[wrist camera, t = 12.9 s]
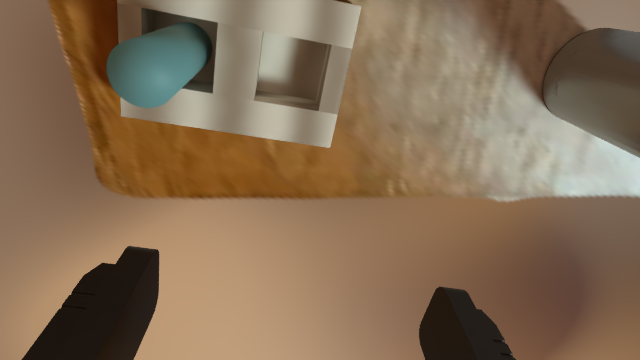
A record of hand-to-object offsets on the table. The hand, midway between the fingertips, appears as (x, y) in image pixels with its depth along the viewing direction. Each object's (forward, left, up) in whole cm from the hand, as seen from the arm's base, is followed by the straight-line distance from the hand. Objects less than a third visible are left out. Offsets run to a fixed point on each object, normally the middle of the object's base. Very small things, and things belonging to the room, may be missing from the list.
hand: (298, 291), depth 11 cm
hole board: (+5, -1, -28) cm, 29 cm away
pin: (+9, -1, -27) cm, 29 cm away
